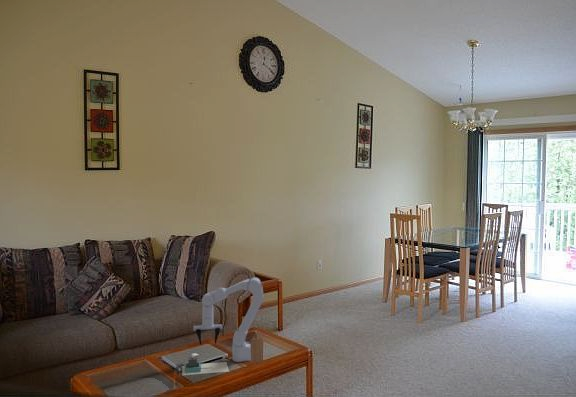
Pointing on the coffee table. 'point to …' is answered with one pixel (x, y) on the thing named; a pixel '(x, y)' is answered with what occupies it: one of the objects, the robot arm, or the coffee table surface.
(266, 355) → the coffee table surface
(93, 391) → the coffee table surface
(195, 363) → the cable plug
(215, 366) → the board
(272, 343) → the coffee table surface
